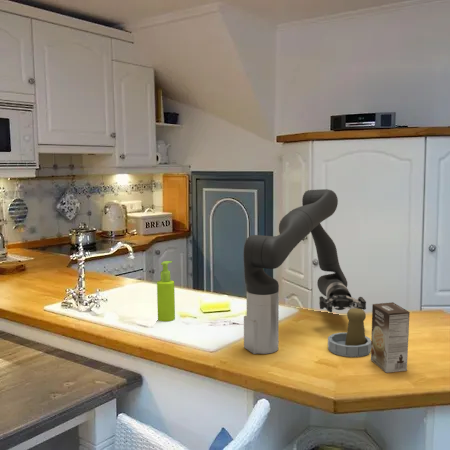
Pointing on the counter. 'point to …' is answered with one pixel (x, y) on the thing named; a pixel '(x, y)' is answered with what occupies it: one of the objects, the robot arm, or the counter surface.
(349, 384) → the counter surface
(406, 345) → the coffee box
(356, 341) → the cork
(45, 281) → the counter surface
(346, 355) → the slate dish
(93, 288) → the counter surface
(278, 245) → the robot arm
